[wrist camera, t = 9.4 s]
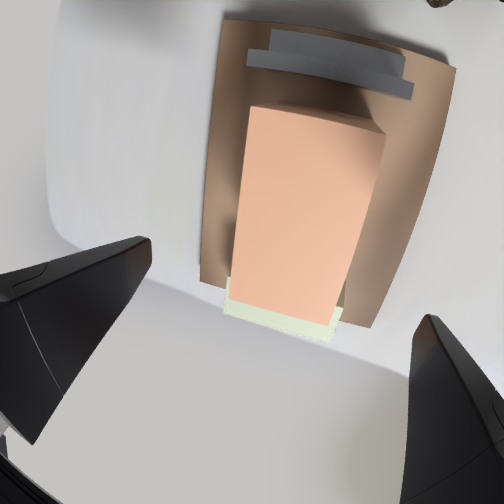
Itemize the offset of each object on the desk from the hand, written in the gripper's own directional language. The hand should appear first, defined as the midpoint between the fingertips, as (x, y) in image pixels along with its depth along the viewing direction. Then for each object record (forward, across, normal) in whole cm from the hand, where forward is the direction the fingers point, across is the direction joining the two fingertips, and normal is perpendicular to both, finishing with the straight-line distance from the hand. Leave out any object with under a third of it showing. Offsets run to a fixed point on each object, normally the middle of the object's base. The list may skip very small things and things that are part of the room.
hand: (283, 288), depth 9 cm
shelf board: (+11, 0, 0) cm, 11 cm away
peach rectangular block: (+10, 0, 0) cm, 10 cm away
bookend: (+10, 0, -7) cm, 12 cm away
